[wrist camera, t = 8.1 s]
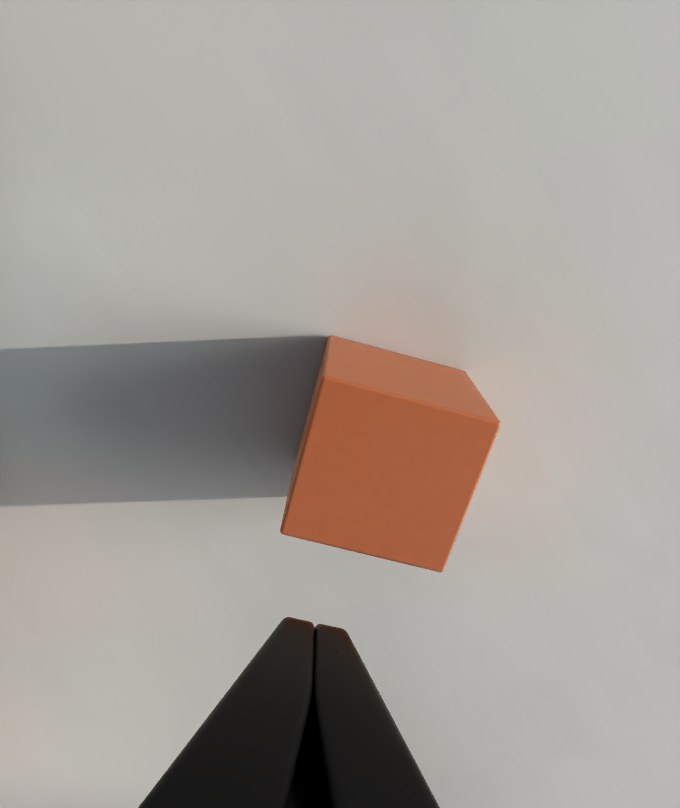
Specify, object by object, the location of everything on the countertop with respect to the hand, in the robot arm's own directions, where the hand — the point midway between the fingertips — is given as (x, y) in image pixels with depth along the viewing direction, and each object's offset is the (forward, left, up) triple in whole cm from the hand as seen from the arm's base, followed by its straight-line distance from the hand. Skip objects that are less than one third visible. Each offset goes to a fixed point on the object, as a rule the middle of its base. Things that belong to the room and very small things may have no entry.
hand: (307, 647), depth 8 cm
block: (-2, 0, -11) cm, 11 cm away
